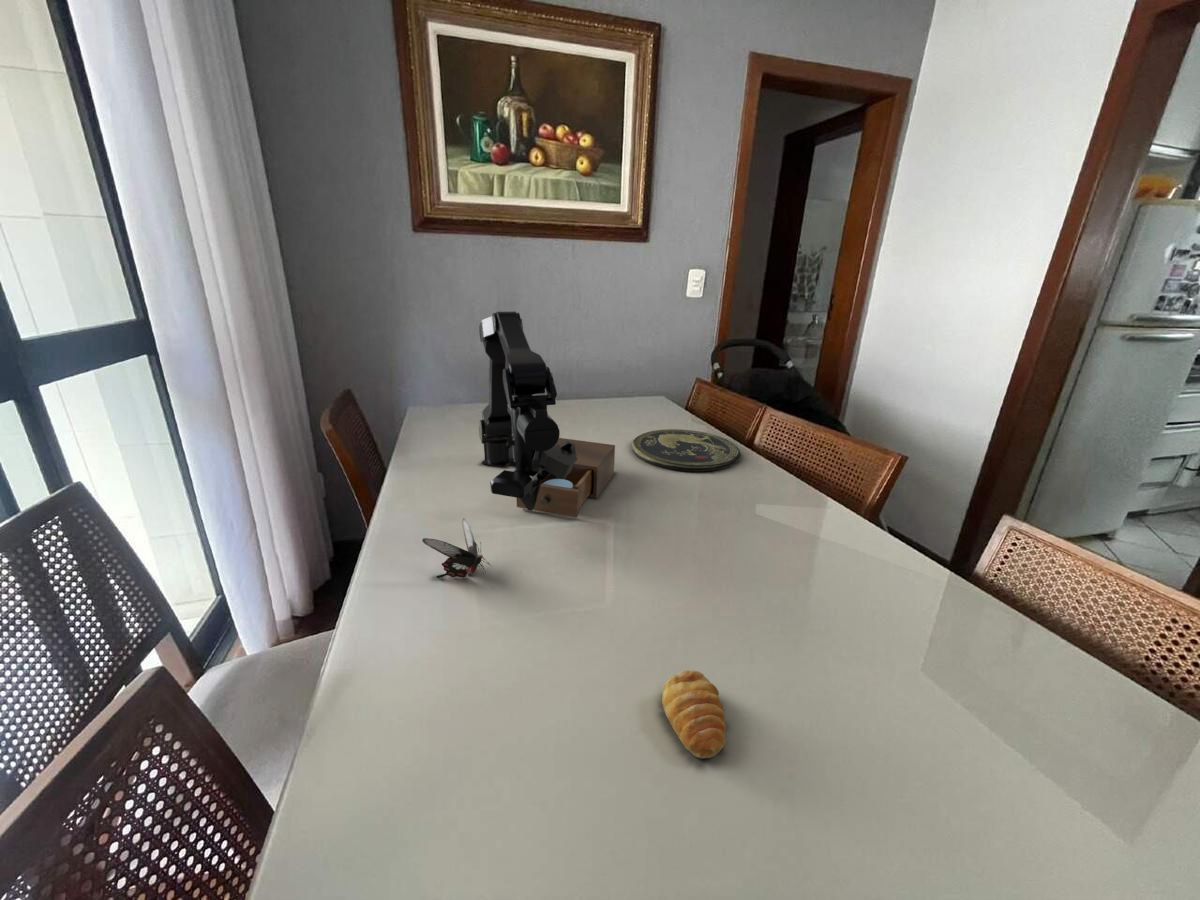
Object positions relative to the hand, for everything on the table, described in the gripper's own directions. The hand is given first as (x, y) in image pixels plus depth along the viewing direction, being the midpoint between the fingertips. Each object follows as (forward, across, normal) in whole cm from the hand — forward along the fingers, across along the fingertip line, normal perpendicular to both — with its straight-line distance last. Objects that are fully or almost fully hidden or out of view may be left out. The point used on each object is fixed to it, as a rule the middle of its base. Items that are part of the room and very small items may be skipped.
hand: (530, 509), depth 92 cm
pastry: (+5, -31, -35) cm, 47 cm away
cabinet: (+5, +26, 0) cm, 26 cm away
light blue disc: (+3, +14, 0) cm, 14 cm away
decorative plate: (+5, +55, -22) cm, 59 cm away
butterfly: (+5, -17, +5) cm, 19 cm away
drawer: (+4, +13, 0) cm, 14 cm away
